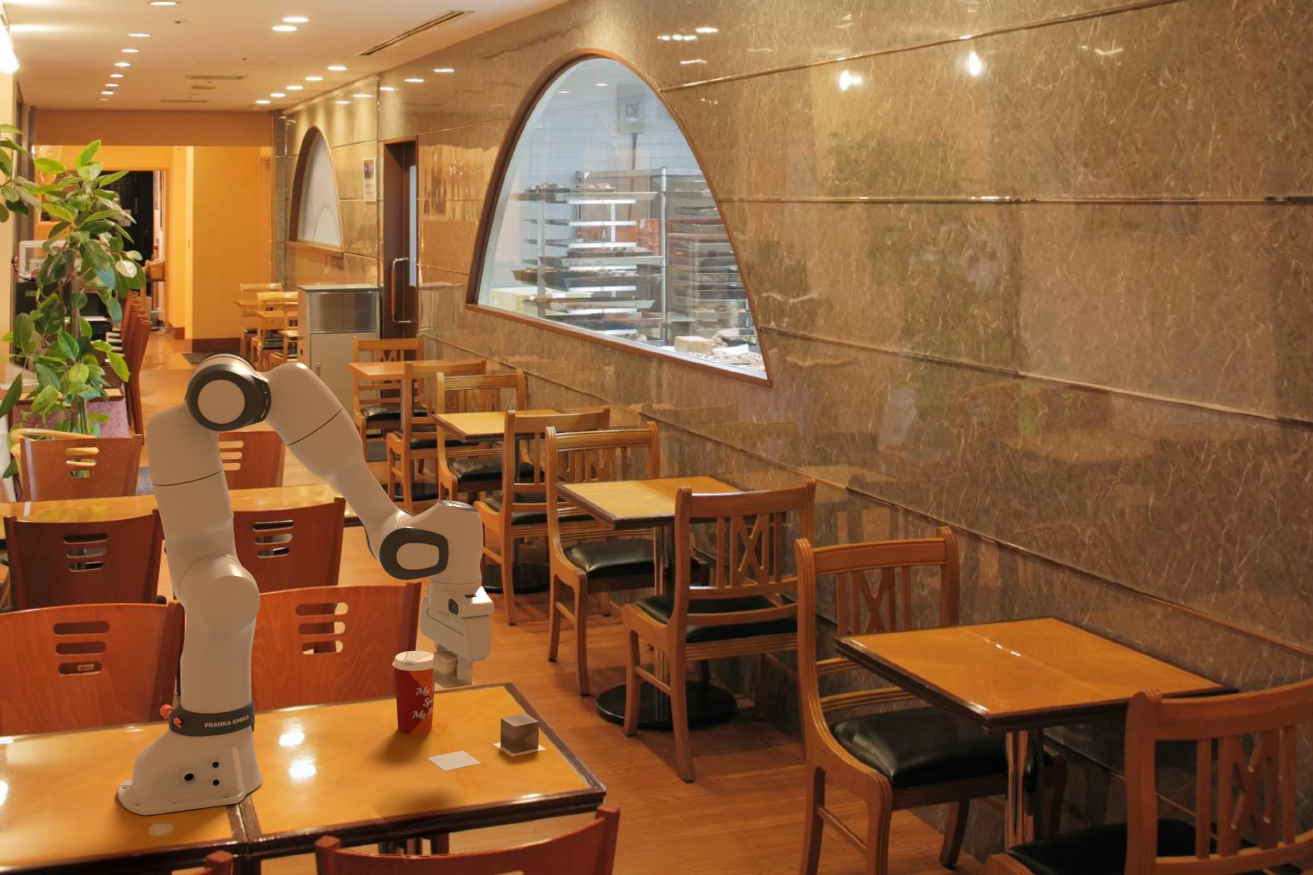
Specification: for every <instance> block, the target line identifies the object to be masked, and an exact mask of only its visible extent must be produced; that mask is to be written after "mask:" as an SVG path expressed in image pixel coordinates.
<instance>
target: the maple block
mask: <svg viewBox="0 0 1313 875" xmlns="http://www.w3.org/2000/svg"><path fill="white" fill-rule="evenodd" d="M433 654H434V657H433V681H434V682H435V684H437V685H439V686H441V687H442V688H443V689H446V690H448V689H453V688H461V687H466V686H472V685H473V669H474V666H473V663H474V662H471V663H470V665H469V668H468V674H467V678H466V679H461V680H459V679H458V678H456V677H455V676H454V673H455V672H454V669H455V668H456V667H457V665H458V662H459V660H457V654H455V653H454V652H452V651H450V650H448V651H442V652H436V651H435V652H433Z"/></svg>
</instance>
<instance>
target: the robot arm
mask: <svg viewBox="0 0 1313 875" xmlns="http://www.w3.org/2000/svg"><path fill="white" fill-rule="evenodd" d="M264 421H265V422H267V423H268V425H270V426H271V427H272V429H273V430H274V431H275V432H276V433H277V436H279V437H280V439H281V440H282V442H283V443H284V444H285V446H286V447H287V449H288V450H289V451H290V453H291V454H292V455H293V456H294V457H295V458H296V459H297V460H298V462H300V463H301V464H302V465H303V466H304V467H305V468H306V469H307V470H308V471H309V472H310V473H311V474H312V475H314V476H315V477H318V478H320V479H323V480H325V481H326V482H328V483H330V484H331V485H332V486H333V487H334V488H335V489H336V490H337V491H338V492H339V493H340V494H341V496H342V497H343V499H344V500H345V501H346V502H347V504H348V505H349V507H350V508H351V509H352V510H353V512H354V514H355V515H356V516H357V517H358V519H359V522H360V523H361V524H362V526H363V528H364V534H365V539H366V544H367V547H368V550H369V552H370V554H371V555H372V557H373V558H374V559H375V560H376V561H378V563H379V565H380V566H381V568H382V569H383V570H384V571H385V573H387V574H388V575H389V576H390V577H392V578H394V579H396V580H397V579H398V580H402V581H412V580H418V579H423V578H428V577H429V586H428V588H427V590H426V595H425V596H424V597H423V599H422V602H421V609H420V618H419V629H420V633H421V635H423V636H424V637H426V638H428V639H429V640H431V641H433V642H434V650H435V652H442V651H449V650H450V651H452V652H454V653H455V654H457V660H459V662H458V665H457V667H456V668H455V669H454V672H455V673H454V676H455V677H456V678H458V679H459V680H461V679H466V678H467V674H468V668H469V665H470V663H471V662H473V663H475V662H482V661H486V660H487V659H488V658H489V656H490V654H491V649H492V635H493V634H492V633H493V624H492V618H491V615H493V614H494V612H495V603H494V601H493V600H492V598H490V596H489V595H488V593H487V592H486V590H485V588H484V587H483V586H482V581H483V578H482V577H483V576H482V572H481V561H482V558H483V553H484V552H483V551H484V530H483V529H484V528H483V521H482V520H483V519H482V514H481V512H479V510H477V509H476V508H475V507H474V506H473V505H470V504H469V503H465V502H461V501H458V500H450V499H447V500H445V499H443V500H439V501H437V502H436V503H435V504H434V505H432V506H431V507H430V508H428V509H427V510H425V511H423V512H421V513H419V514H417V515H414V514H413V513H412V512H410V511H408V510H406V509H404V508H402V507H400V506H399V505H398V504H396V503H395V502H394V501H393V500H392V499H391V498H390V497H389V495H388V494H387V492H386V491H385V490H384V489H383V486H382V485H381V484H380V482H379V481H378V480H377V478H376V477H375V476H374V474H373V473H372V471H371V470H370V468H369V467H368V464H367V461H366V460H365V457H364V450H363V449H364V442H363V439H362V438H361V437H362V436H361V435H360V432H359V430H358V428H357V426H356V425H355V422H354V420H353V419H352V417H351V416H350V414H349V412H348V411H347V410H346V408H345V407H344V406H343V404H342V403H341V402H340V400H339V398H338V397H337V396H336V395H335V394H334V393H333V392H332V390H331V388H329V387H328V386H327V384H326V383H325V382H324V381H323V380H322V379H321V378H320V377H319V376H318V375H317V374H316V373H315V372H314V371H313V370H312V369H310V368H309V367H308V366H307V365H306V364H304V363H301V362H298V361H292V362H291V361H290V362H285V363H282V364H280V365H277V366H275V367H273V368H272V369H271V370H268V371H265V372H261V371H257V369H256V367H255V366H254V365H253V363H252V362H251V361H250V360H249V359H248V358H246V357H245V356H243V355H241V354H239V353H237V352H231V351H217V352H214V353H211V354H209V355H207V356H206V357H204V358H203V359H202V360H200V362H198V364H197V365H196V367H194V370H192V372H191V375H190V377H189V379H188V382H187V390H186V393H185V396H184V401H183V402H182V403H180V404H178V405H176V406H173V407H168V408H165V409H163V410H161V411H159V412H157V413H155V415H154V416H152V417H151V418H150V419H149V421H148V423H147V425H146V430H145V434H146V435H145V436H146V437H145V440H146V441H145V442H146V443H145V444H146V455H147V464H148V470H149V475H150V480H151V483H152V487H153V492H154V496H155V497H154V498H155V500H156V505H157V509H158V512H159V517H160V521H161V526H162V530H163V537H164V544H165V546H164V547H165V554H166V559H167V566H168V571H169V578H170V581H171V583H170V584H171V587H172V591H173V594H174V597H175V598H176V599H177V601H178V602H179V603H180V605H182V607H183V609H184V612H185V631H184V632H185V634H184V640H183V648H182V653H181V656H180V661H179V664H180V665H179V667H180V702H179V704H178V705H177V706H176V707H175V708H173V707H172V706H171V705H170V704H164V705H162V706H161V708H160V709H159V714H160V715H161V716H162V718H163V719H165V720H168V728H167V729H166V730H165V731H164V732H162V734H161V735H159V736H158V737H157V738H155V740H153V741H152V742H151V743H150V744H148V745H147V746H146V747H145V748H144V749H142V750H141V751H140V752H139V753H138V754H137V756H136V757H135V761H134V764H133V769H132V776H131V778H130V779H127V780H124V781H122V782H121V783H120V784H119V786H118V789H117V798H118V800H119V802H120V804H121V805H122V806H123V807H124V808H125V809H126V810H127V811H129V812H131V813H134V814H137V815H141V816H150V815H158V814H166V813H173V812H181V811H188V810H193V809H194V810H195V809H196V810H197V809H205V808H211V807H218V806H225V805H226V806H227V805H234V804H235V805H236V804H238V803H241V802H242V801H243V800H244V798H246V795H248V794H249V793H251V792H253V791H255V790H256V789H258V788H259V787H260V786H261V784H263V783H262V782H263V776H262V774H261V771H260V766H259V763H258V758H257V755H256V749H255V748H256V747H255V741H254V732H255V725H256V710H255V704H254V703H255V700H254V699H253V698H252V648H253V642H254V636H255V629H256V625H257V624H256V622H257V615H258V613H259V610H260V607H261V596H260V590H259V586H258V584H257V582H256V579H255V578H254V576H253V575H252V574H251V572H249V571H248V570H247V569H246V568H245V567H244V566H242V564H241V562H240V560H239V558H238V554H237V549H236V541H235V531H234V528H235V527H234V518H235V513H234V508H233V504H232V499H231V495H230V492H229V491H230V490H229V487H228V483H227V482H228V481H227V477H226V473H225V468H224V465H223V460H222V456H221V452H220V447H219V446H220V445H219V439H220V438H219V437H220V434H221V433H222V432H223V433H225V432H232V431H238V430H240V429H243V428H245V427H249V426H252V425H256V424H260V423H262V422H264Z"/></svg>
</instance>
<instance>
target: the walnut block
mask: <svg viewBox="0 0 1313 875" xmlns="http://www.w3.org/2000/svg"><path fill="white" fill-rule="evenodd" d="M539 728H540V721H539V720H537V719H535V718H534V717H532V716H530V715H529V714H527V713H521V714H515V715H511V716H504V717H500V741H499V743H500V745H501V746H503V747H505V748H506V749H508V750H509V751H511V752H512V753H514V754H515V753H519V752H524V751H529V750H533V749H538V746H539V745H540V744H539V741H540V738H539V737H540V736H539V734H540V729H539Z"/></svg>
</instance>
